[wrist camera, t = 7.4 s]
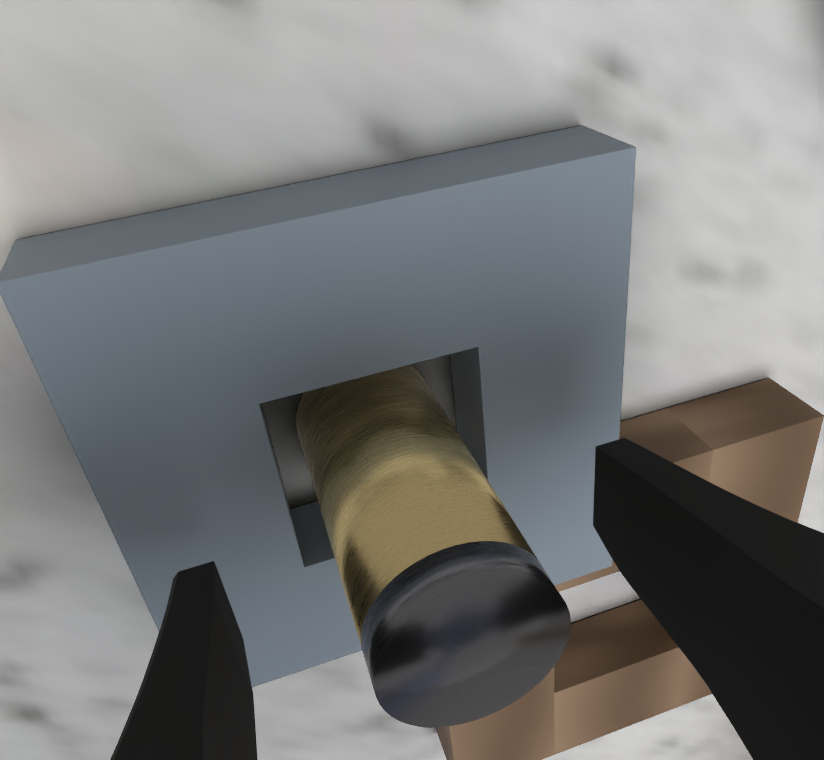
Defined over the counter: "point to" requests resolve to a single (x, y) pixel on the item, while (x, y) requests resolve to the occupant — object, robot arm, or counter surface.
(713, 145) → the counter surface
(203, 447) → the socket block
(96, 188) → the counter surface
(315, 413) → the pin
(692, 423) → the mount block
